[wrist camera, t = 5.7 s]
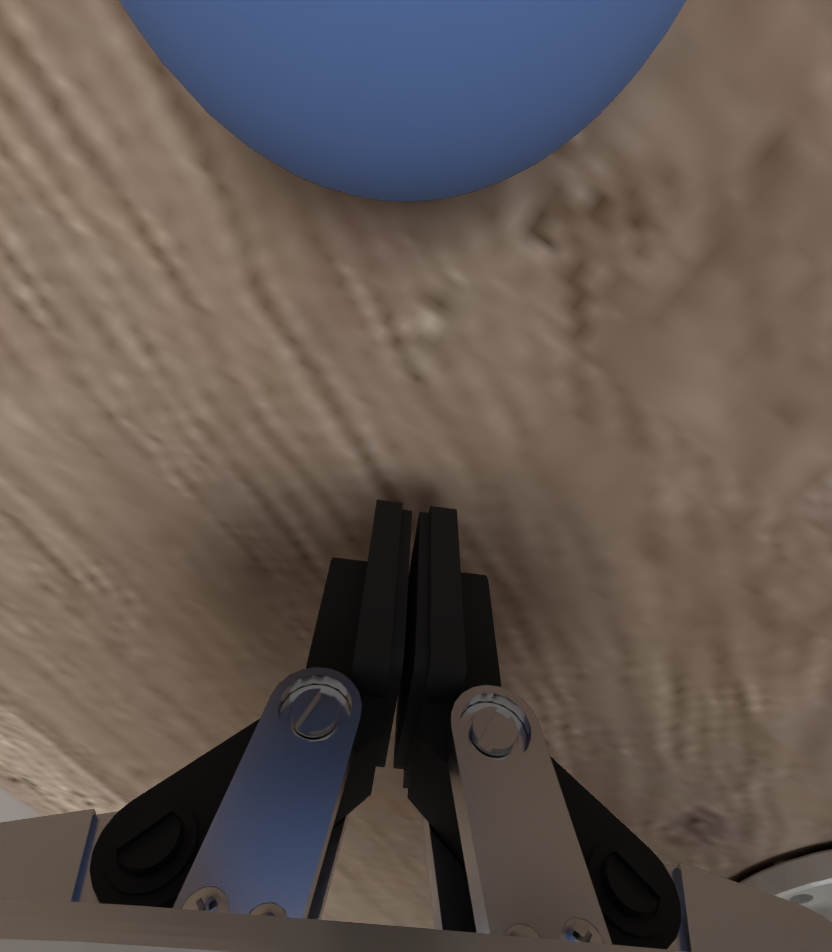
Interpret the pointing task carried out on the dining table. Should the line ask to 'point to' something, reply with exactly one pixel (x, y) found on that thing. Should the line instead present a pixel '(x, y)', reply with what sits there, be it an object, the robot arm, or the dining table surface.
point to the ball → (404, 81)
